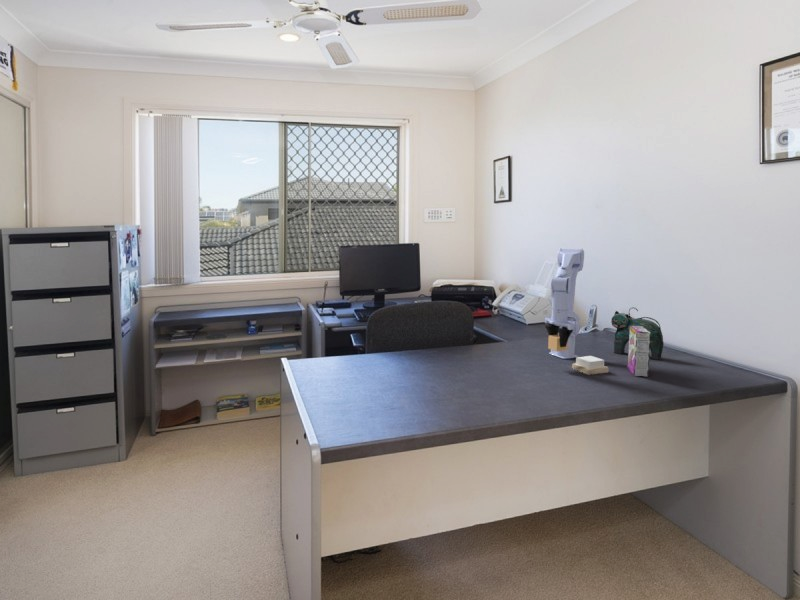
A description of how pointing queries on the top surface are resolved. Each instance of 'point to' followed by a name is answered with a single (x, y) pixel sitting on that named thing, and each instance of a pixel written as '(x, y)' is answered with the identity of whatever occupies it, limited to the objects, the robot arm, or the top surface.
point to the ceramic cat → (623, 329)
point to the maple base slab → (590, 371)
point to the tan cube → (556, 343)
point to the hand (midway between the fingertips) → (558, 345)
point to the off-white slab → (589, 362)
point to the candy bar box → (639, 351)
